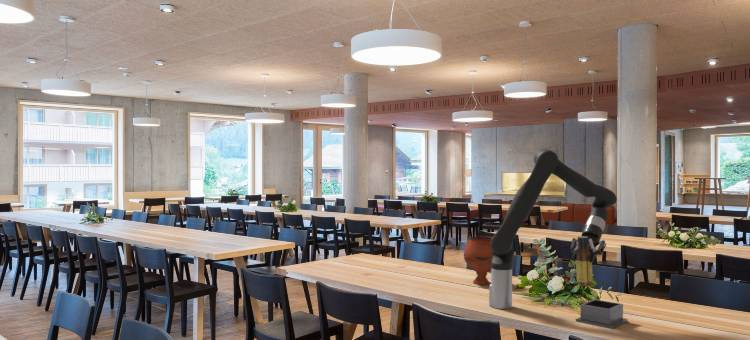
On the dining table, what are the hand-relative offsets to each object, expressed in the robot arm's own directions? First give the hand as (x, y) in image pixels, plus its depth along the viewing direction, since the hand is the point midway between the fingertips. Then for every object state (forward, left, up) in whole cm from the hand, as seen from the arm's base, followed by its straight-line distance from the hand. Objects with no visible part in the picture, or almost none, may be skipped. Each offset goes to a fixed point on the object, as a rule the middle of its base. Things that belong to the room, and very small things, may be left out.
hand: (582, 260), depth 227 cm
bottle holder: (+6, +5, -25) cm, 26 cm away
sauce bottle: (0, +2, -10) cm, 11 cm away
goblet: (-72, +35, -25) cm, 84 cm away
